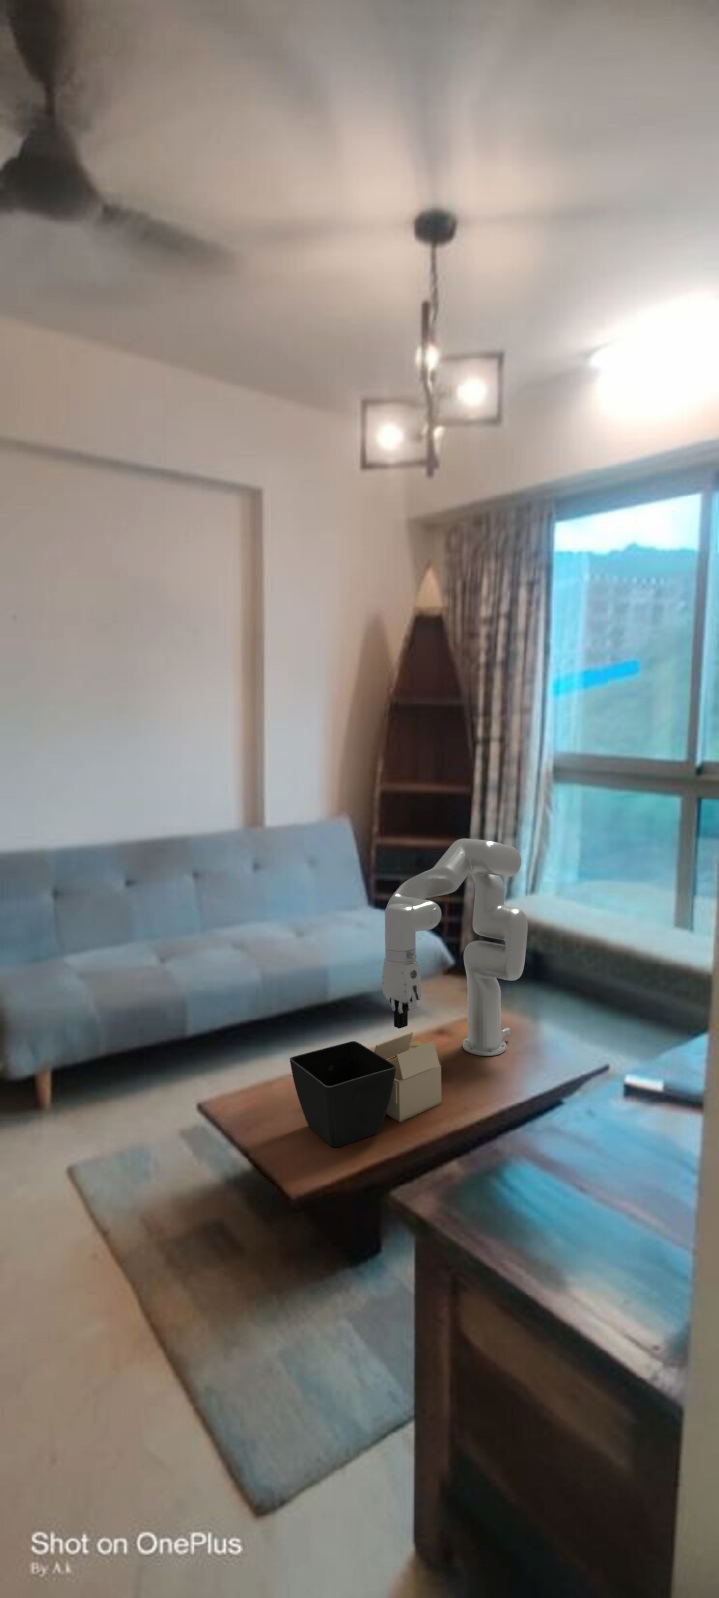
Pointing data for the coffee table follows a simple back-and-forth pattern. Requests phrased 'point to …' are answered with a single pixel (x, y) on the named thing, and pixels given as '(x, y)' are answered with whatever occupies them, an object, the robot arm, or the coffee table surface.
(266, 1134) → the coffee table surface
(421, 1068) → the near flap
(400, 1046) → the far flap
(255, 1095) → the coffee table surface
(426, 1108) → the shipping box
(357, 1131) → the flower pot
